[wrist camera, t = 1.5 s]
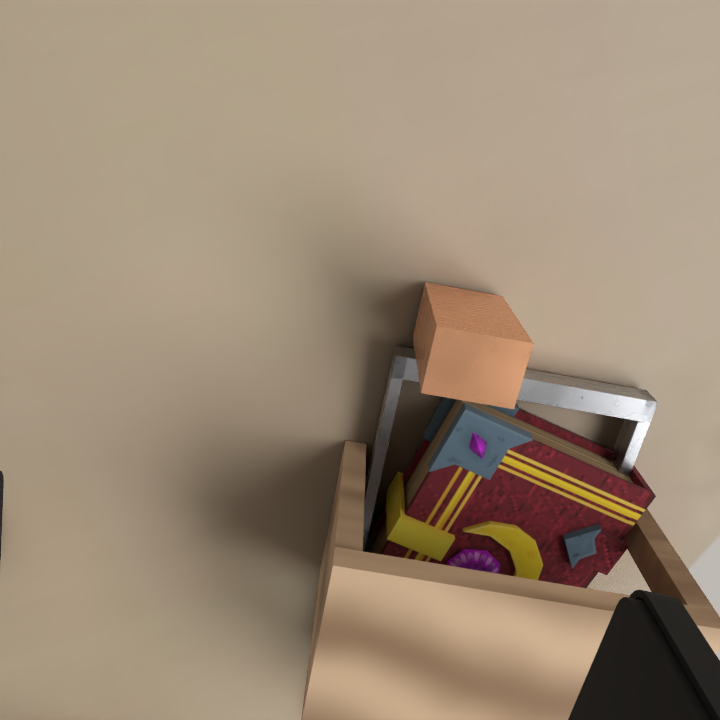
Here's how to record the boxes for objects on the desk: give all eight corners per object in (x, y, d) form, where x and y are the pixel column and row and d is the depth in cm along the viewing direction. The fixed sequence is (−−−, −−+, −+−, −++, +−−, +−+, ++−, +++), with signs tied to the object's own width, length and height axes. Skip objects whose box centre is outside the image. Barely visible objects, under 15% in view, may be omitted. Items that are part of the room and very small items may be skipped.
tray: (409, 279, 32) (417, 322, 26) (670, 327, 33) (742, 381, 26) (330, 646, 41) (322, 747, 35) (537, 679, 42) (566, 784, 35)
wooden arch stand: (345, 440, 36) (333, 565, 26) (634, 490, 37) (728, 630, 27) (320, 568, 39) (301, 722, 30) (586, 611, 40) (654, 776, 30)
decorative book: (631, 452, 36) (668, 503, 32) (490, 648, 42) (504, 716, 37) (453, 372, 35) (464, 412, 30) (331, 586, 40) (324, 649, 36)
